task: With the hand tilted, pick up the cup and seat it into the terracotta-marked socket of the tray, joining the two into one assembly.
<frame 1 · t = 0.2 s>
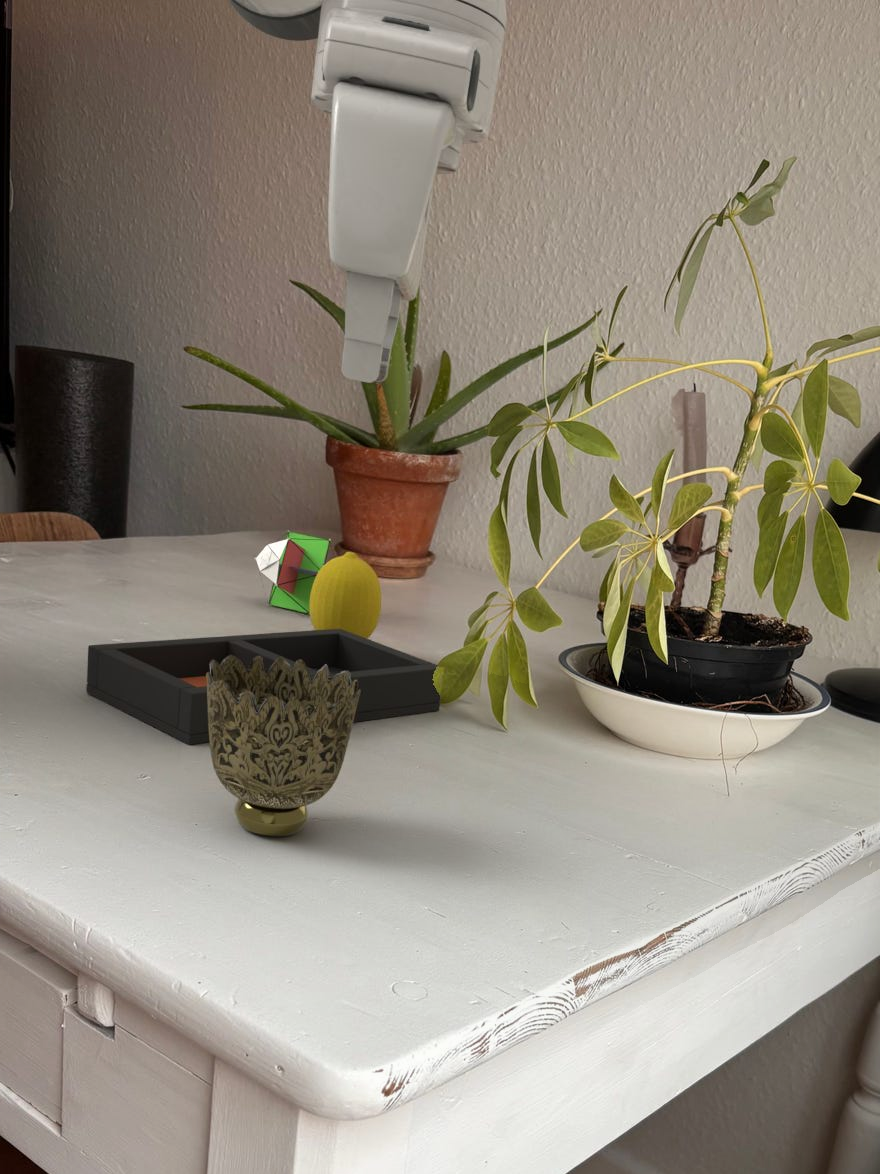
hand: (364, 381, 67), 21 cm above the table, tool pointing down, fingers open, 8 cm apart
lemon: (339, 656, 101), on the table
cup: (269, 830, 65), on the table
tray: (271, 702, 86), on the table
geometric puzzle: (295, 610, 115), on the table
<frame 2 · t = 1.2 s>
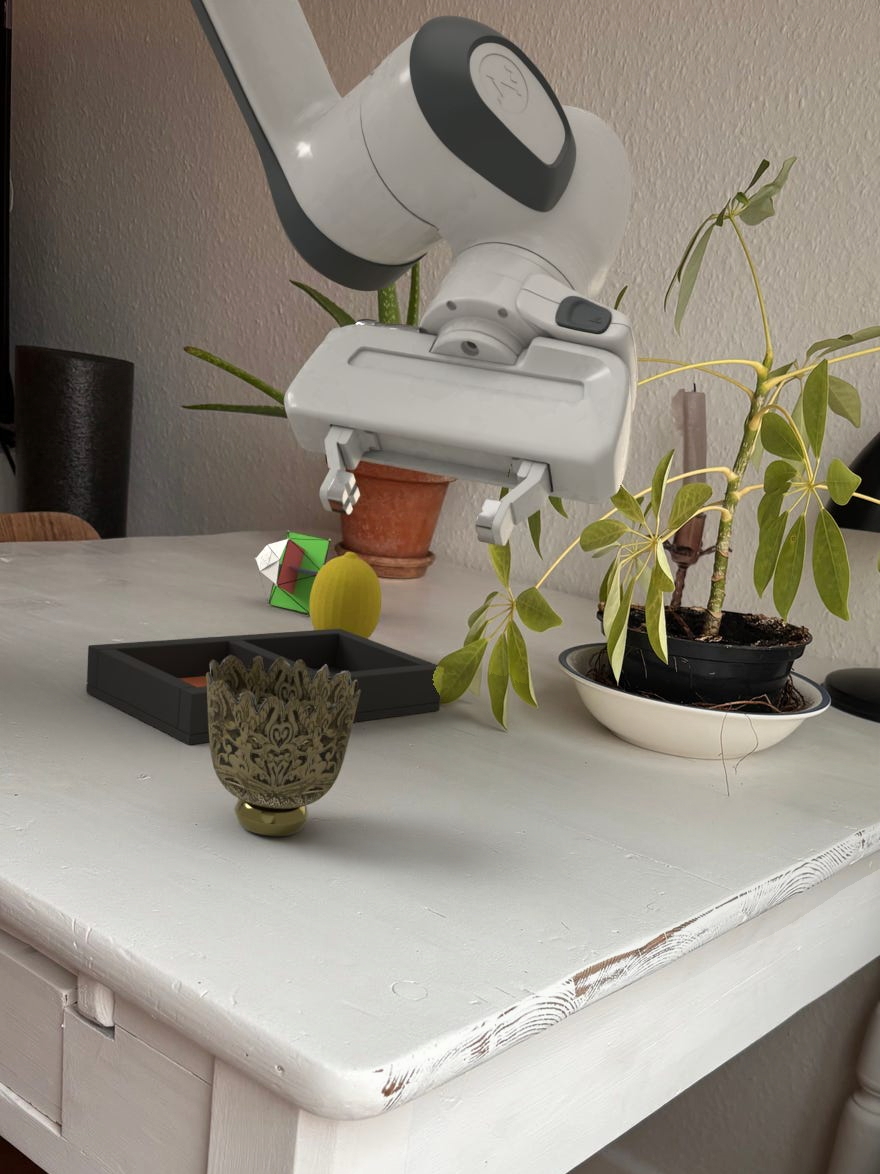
hand: (409, 521, 71), 15 cm above the table, tool tilted 45°, fingers open, 8 cm apart
nothing on the table moved.
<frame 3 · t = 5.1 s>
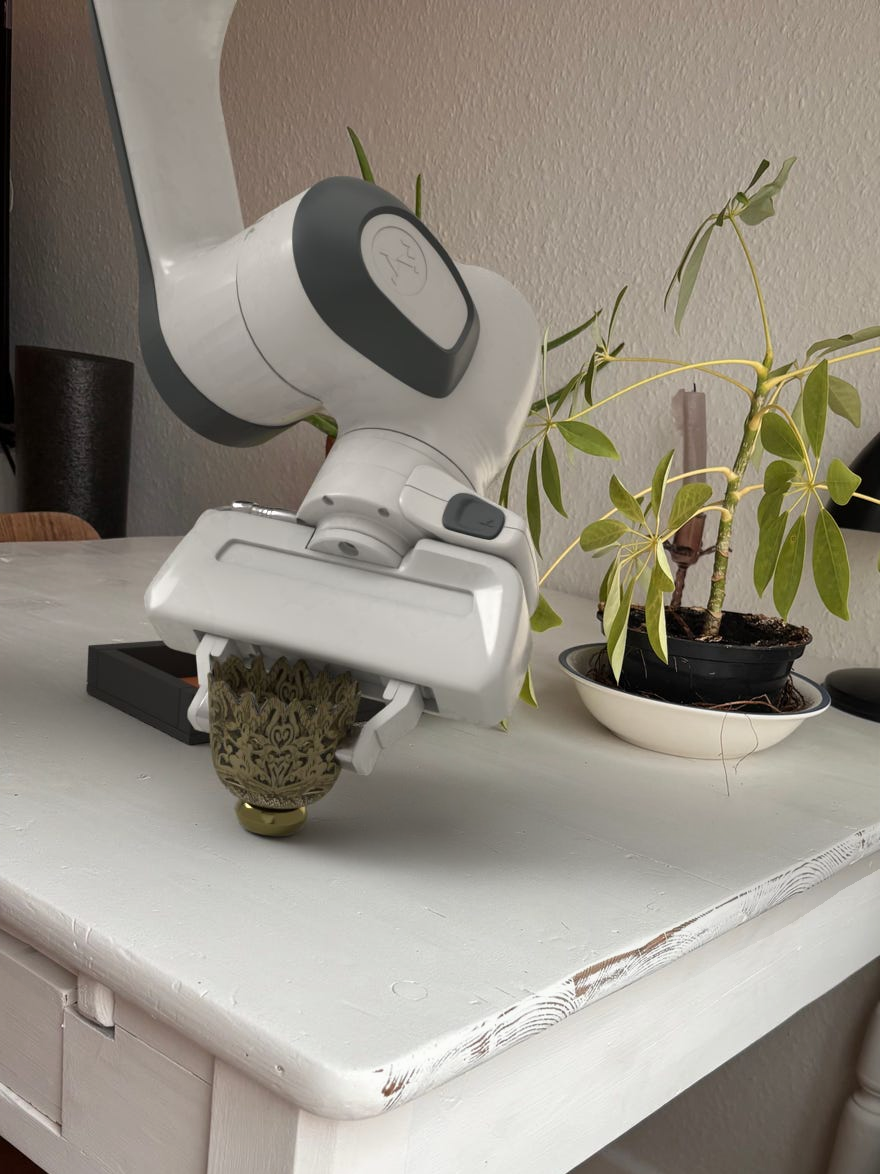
hand: (276, 747, 63), 4 cm above the table, tool tilted 45°, fingers closed on cup, 7 cm apart
cup: (269, 830, 65), on the table, touching gripper
everything else where it was.
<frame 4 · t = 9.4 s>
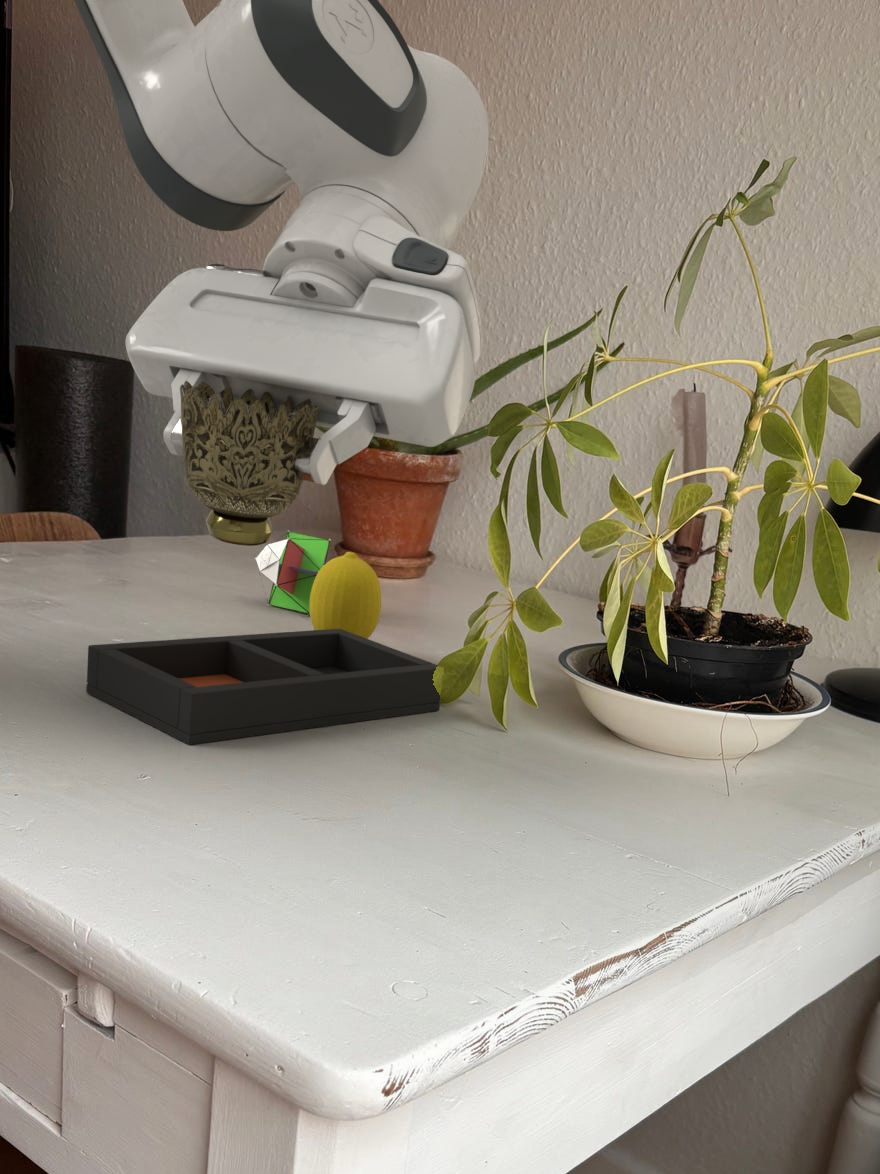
hand: (242, 461, 70), 16 cm above the table, tool tilted 45°, fingers closed on cup, 7 cm apart
cup: (237, 544, 72), point 12 cm above the table, touching gripper
everything else where it was.
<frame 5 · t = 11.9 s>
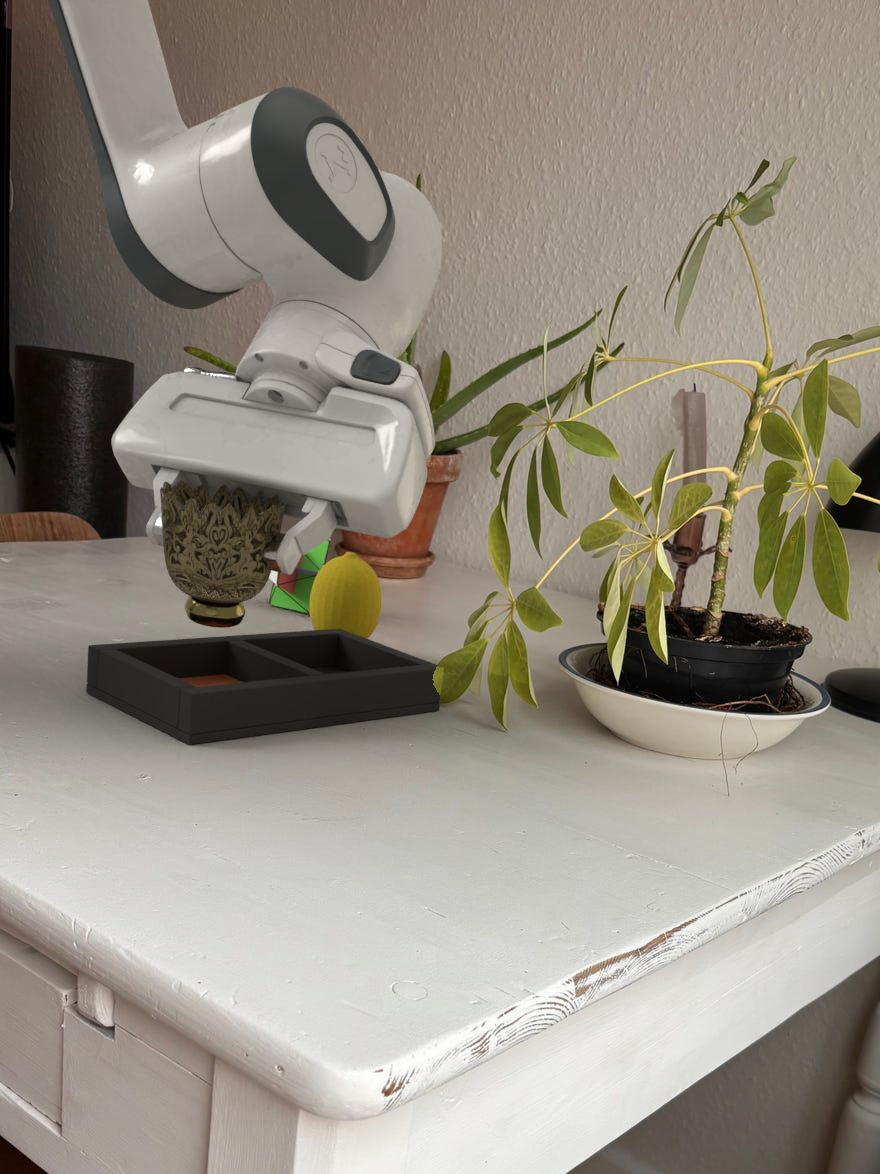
hand: (217, 553, 78), 10 cm above the table, tool tilted 45°, fingers closed on cup, 7 cm apart
cup: (213, 625, 80), point 5 cm above the table, touching gripper
everything else where it was.
when the fingers open (5 cm above the table, at t = 13.8 s): cup stays where it is, resting on tray.
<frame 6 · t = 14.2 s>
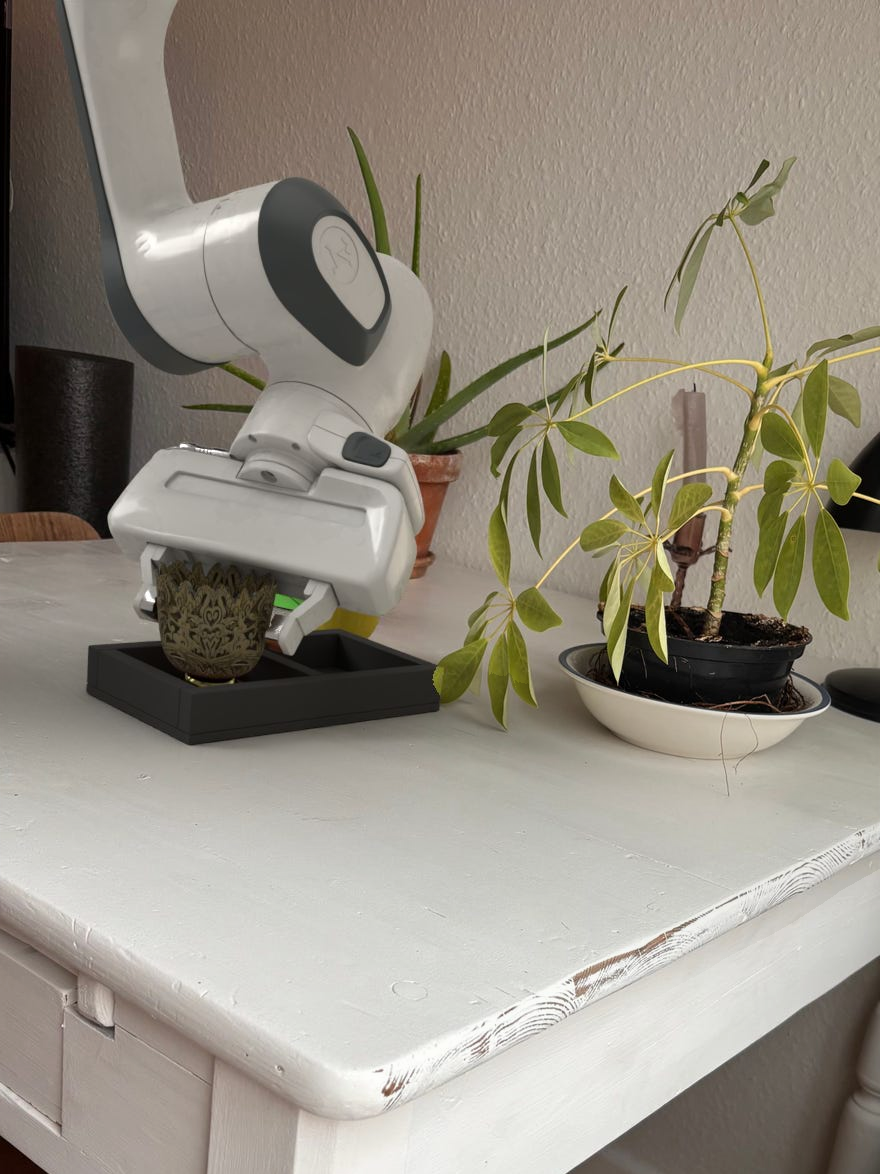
hand: (210, 631, 80), 5 cm above the table, tool tilted 45°, fingers open, 8 cm apart
cup: (208, 700, 82), point 1 cm above the table, touching tray
everything else where it was.
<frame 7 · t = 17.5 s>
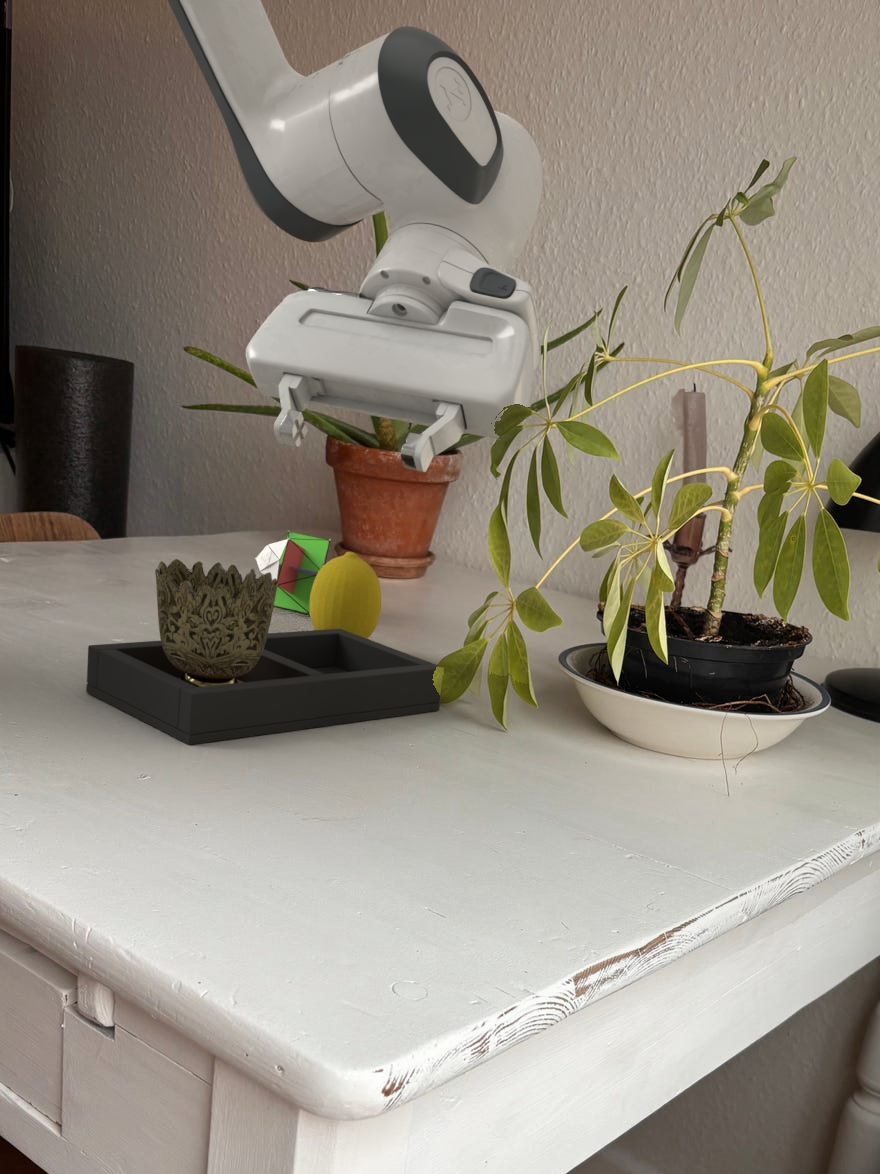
hand: (347, 451, 86), 16 cm above the table, tool tilted 45°, fingers open, 8 cm apart
nothing on the table moved.
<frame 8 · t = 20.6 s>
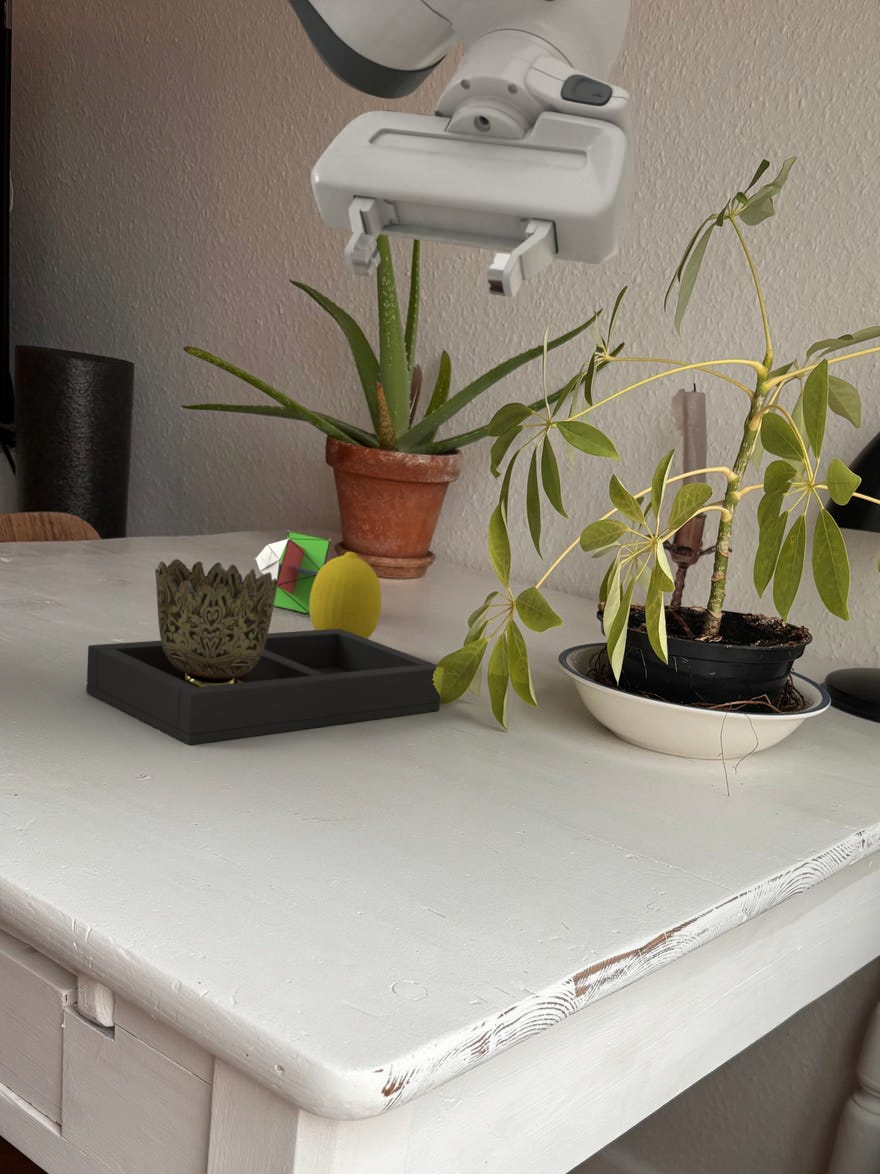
hand: (426, 276, 77), 27 cm above the table, tool tilted 45°, fingers open, 8 cm apart
nothing on the table moved.
at the end: cup 0.2 cm from the target spot in the tray, point 0.6 cm above the tray's base; cup tilted 0° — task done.
